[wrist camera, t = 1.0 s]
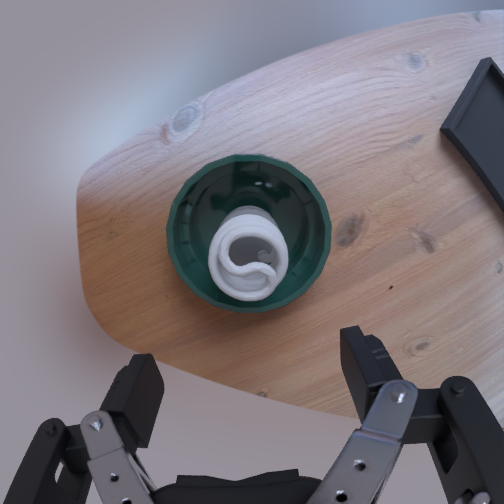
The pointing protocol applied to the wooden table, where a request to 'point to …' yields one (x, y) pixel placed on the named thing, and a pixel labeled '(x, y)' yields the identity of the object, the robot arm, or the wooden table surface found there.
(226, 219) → the light bulb
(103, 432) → the robot arm
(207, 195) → the bowl
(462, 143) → the tray
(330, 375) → the wooden table surface
